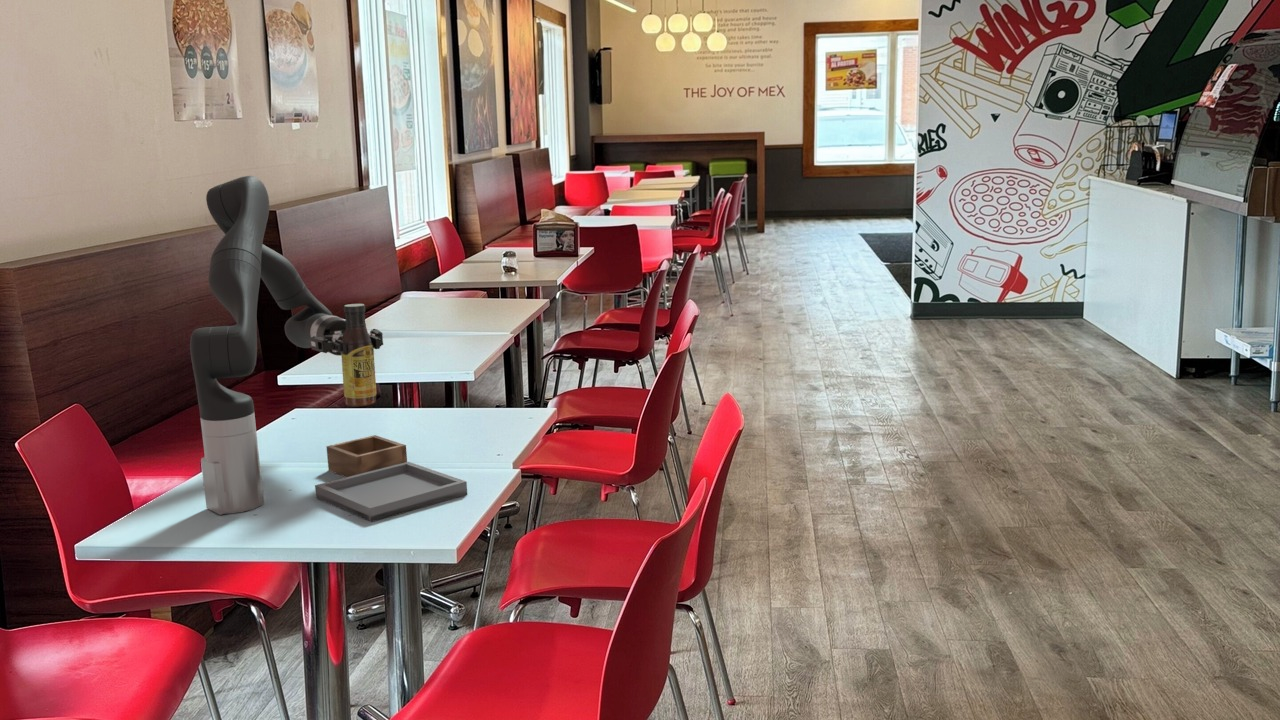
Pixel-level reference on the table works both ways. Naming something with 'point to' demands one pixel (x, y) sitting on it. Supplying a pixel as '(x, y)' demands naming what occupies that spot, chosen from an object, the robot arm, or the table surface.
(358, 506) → the serving tray
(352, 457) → the condiment box
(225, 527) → the table surface
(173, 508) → the table surface
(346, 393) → the sauce bottle
